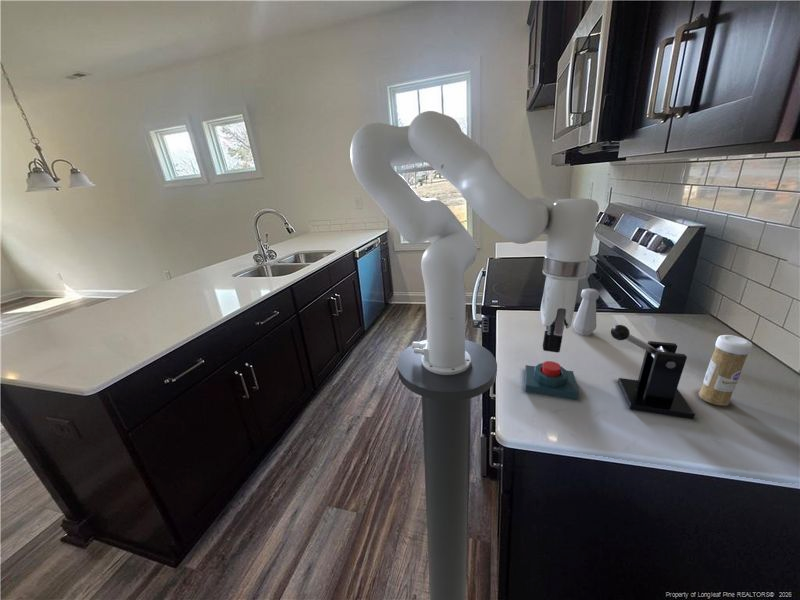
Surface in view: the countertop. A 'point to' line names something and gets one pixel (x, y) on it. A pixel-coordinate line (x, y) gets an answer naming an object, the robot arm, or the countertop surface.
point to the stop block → (550, 382)
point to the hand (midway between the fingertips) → (550, 349)
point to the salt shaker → (586, 312)
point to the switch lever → (634, 339)
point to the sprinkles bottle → (724, 369)
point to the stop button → (551, 369)
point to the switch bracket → (658, 384)
